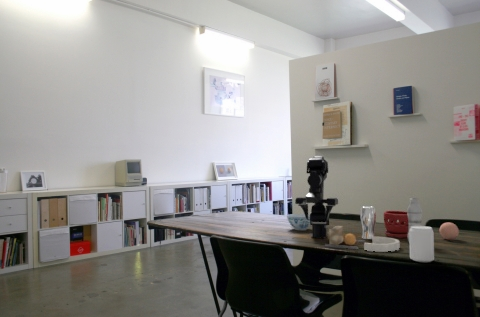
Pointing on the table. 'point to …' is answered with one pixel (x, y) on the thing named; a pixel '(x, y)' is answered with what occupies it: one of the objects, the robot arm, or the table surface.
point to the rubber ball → (350, 239)
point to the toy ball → (449, 231)
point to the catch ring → (382, 244)
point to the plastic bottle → (414, 214)
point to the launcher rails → (345, 246)
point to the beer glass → (368, 221)
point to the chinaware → (299, 221)
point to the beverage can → (421, 243)
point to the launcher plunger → (336, 235)
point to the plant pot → (396, 224)
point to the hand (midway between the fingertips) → (316, 219)
